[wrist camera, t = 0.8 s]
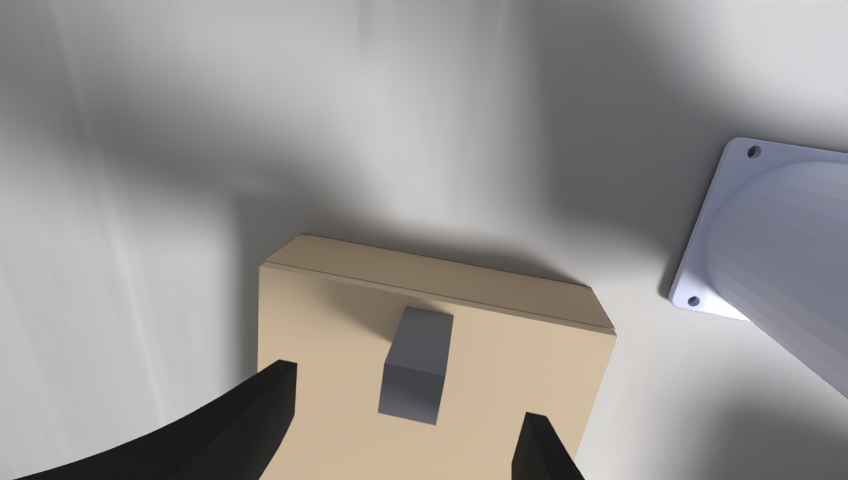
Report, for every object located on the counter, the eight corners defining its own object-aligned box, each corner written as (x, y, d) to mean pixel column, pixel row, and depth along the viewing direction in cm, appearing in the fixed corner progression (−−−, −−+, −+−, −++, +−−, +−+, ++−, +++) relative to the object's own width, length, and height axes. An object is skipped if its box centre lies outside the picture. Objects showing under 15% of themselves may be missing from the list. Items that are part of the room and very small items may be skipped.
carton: (590, 287, 20) (615, 328, 17) (519, 517, 26) (525, 587, 22) (301, 233, 22) (264, 260, 18) (290, 463, 27) (258, 521, 23)
